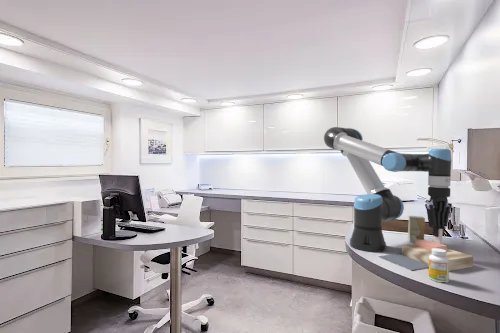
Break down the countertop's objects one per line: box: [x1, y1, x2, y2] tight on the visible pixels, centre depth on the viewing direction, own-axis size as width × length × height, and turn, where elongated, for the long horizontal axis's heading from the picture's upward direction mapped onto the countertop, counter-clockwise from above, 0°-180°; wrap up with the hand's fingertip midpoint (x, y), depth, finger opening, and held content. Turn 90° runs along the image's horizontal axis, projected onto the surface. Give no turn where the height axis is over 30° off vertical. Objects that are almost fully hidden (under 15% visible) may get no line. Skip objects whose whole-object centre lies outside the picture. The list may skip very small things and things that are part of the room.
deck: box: [401, 243, 474, 272], centre depth 107 cm, size 18×14×4 cm
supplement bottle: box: [428, 248, 450, 283], centre depth 89 cm, size 5×5×10 cm
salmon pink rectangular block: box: [414, 239, 448, 251], centre depth 110 cm, size 9×6×2 cm, turn 20°
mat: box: [378, 253, 429, 271], centre depth 105 cm, size 15×10×1 cm
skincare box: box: [407, 215, 426, 243], centre depth 133 cm, size 6×4×12 cm
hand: (437, 244), depth 112 cm, fingers closed
